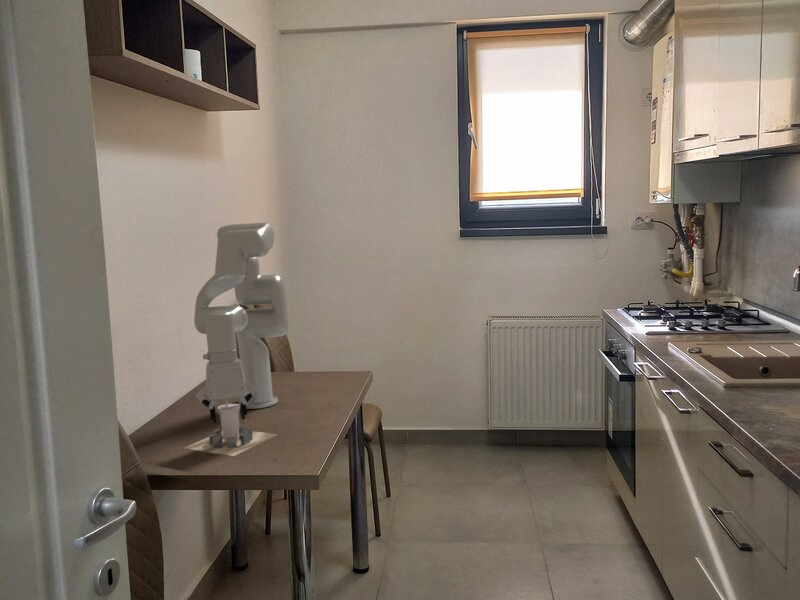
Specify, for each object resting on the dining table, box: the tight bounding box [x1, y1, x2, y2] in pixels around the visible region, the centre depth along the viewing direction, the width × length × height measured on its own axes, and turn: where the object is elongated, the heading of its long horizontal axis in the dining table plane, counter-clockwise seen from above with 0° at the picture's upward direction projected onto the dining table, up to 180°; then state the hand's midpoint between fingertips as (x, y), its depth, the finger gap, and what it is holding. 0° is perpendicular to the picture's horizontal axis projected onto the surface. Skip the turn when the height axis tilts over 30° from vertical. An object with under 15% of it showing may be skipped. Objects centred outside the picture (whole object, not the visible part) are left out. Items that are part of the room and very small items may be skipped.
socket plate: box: [184, 430, 278, 457], centre depth 205 cm, size 18×18×2 cm
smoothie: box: [216, 399, 241, 443], centre depth 204 cm, size 6×6×14 cm
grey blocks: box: [208, 425, 253, 448], centre depth 205 cm, size 11×11×2 cm
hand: (229, 419), depth 204 cm, fingers open, 7 cm apart
